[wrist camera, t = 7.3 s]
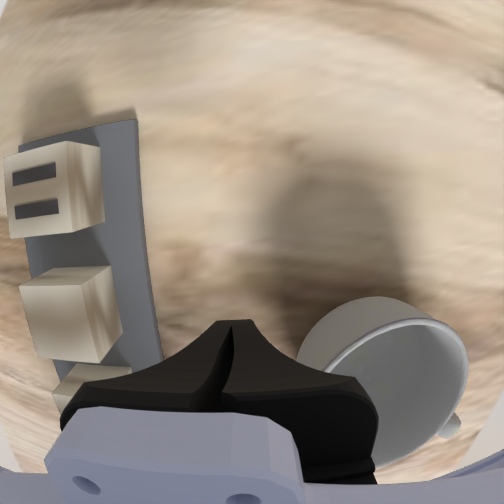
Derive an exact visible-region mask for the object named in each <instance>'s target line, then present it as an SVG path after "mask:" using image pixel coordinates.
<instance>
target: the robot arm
mask: <svg viewBox="0 0 504 504" xmlns="http://www.w3.org/2000/svg"><path fill="white" fill-rule="evenodd" d="M378 424H379V416H378V413H377V410H376V408H375V406H374V404H373V402H372V400H371V398H370V396H369V395H368V394H367V392H366V391H365V389H364V388H363V387H362V385H361V384H360V383H359V382H358V380H357V379H356V377H352V376H345V375H338V374H332V373H327V372H324V371H320V370H317V369H314V368H311V367H308V366H306V365H303V364H301V363H299V362H297V361H295V360H293V359H291V358H289V357H288V356H286V355H284V354H283V353H281V352H280V351H278V350H277V349H276V348H275V347H274V346H273V345H272V344H271V343H269V342H268V340H267V339H266V338H265V337H264V336H263V335H262V334H261V333H260V331H259V330H258V329H257V327H256V326H255V324H254V322H253V321H252V320H251V319H245V320H222V321H216V322H215V323H213V324H212V325H211V326H210V327H209V328H208V329H207V330H206V331H205V332H204V333H203V334H201V335H200V336H199V337H198V338H197V339H196V340H194V341H193V342H192V343H190V344H189V345H188V346H186V347H185V348H184V349H182V350H181V351H180V352H178V353H176V354H175V355H173V356H171V357H169V358H168V359H166V360H164V361H162V362H160V363H158V364H155V365H153V366H150V367H148V368H145V369H143V370H140V371H137V372H134V373H131V374H127V375H123V376H119V377H115V378H110V379H103V380H96V381H89V382H84V383H83V384H82V385H81V387H80V388H79V389H78V391H77V392H76V393H75V395H74V396H73V397H72V399H71V400H70V401H69V403H68V404H67V406H66V407H65V408H64V410H63V412H62V414H61V417H60V428H61V431H62V432H61V434H60V435H59V437H58V438H57V440H56V441H55V443H54V445H53V446H52V448H51V449H50V451H49V452H48V454H47V455H46V457H45V459H44V462H45V465H46V468H47V471H48V474H42V473H18V472H13V471H10V470H8V469H6V468H3V467H1V466H0V504H504V449H503V450H501V451H499V452H497V453H495V454H493V455H491V456H489V457H486V458H485V459H482V460H480V461H478V462H476V463H473V464H471V465H469V466H467V467H464V468H462V469H459V470H456V471H454V472H451V473H449V474H446V475H444V476H441V477H438V478H435V479H433V480H430V481H423V482H412V483H399V484H377V482H376V479H375V477H374V474H373V472H375V464H374V462H373V459H372V457H371V455H372V451H373V447H374V443H375V439H376V435H377V431H378Z"/></svg>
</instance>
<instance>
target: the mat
mask: <svg viewBox="0 0 504 504" xmlns="http://www.w3.org/2000/svg"><path fill="white" fill-rule="evenodd" d="M63 141H71V142H76V143H81V144H86V145H91V146H96V147H100V153H101V174H102V190H103V202H104V213H105V222H103V223H100V224H96V225H93V226H90V227H87V228H84V229H81V230H78V231H75V232H70V233H60V234H50V235H41V236H32V237H25V242H26V249H27V255H28V261H29V267H30V272H31V277H32V279H33V278H35V277H37V276H39V275H41V274H43V273H45V272H47V271H49V270H51V269H53V268H65V267H86V266H107V265H111V269H112V275H113V282H114V288H115V294H116V299H117V305H118V310H119V315H120V320H121V325H122V330H123V333H122V334H121V336H120V337H119V338H118V340H117V341H116V342H115V343H114V345H113V346H112V347H111V349H110V350H109V351H108V353H107V354H106V355H105V357H104V358H103V359H102V361H101V362H100V363H88V362H77V361H67V360H57V359H53V362H54V365H55V368H56V370H57V373H58V376H59V379H60V382H61V381H62V380H63V379H64V378H65V377H66V375H67V374H68V373H69V372H70V371H71V370H72V368H73V367H74V366H75V365H76V364H77V363H78V364H89V365H102V366H118V367H131V368H132V372H133V373H134V372H137V371H140V370H143V369H145V368H148V367H150V366H153V365H155V364H158V363H160V362H162V361H164V358H163V353H162V348H161V343H160V337H159V332H158V326H157V320H156V314H155V307H154V301H153V294H152V287H151V280H150V273H149V265H148V257H147V248H146V239H145V229H144V219H143V207H142V195H141V180H140V163H139V139H138V121H137V120H135V119H131V120H126V121H120V122H114V123H109V124H104V125H99V126H94V127H90V128H85V129H81V130H76V131H72V132H68V133H64V134H60V135H56V136H52V137H48V138H44V139H41V140H37V141H33V142H30V143H27V144H23V145H20V146H19V153H21V152H25V151H28V150H32V149H36V148H39V147H43V146H47V145H51V144H55V143H59V142H63Z"/></svg>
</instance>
